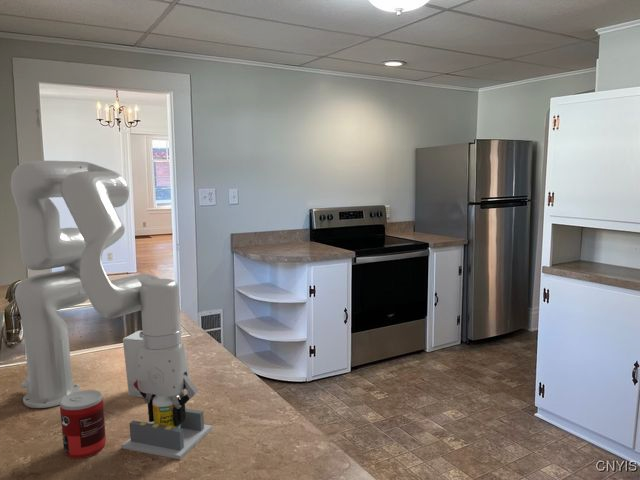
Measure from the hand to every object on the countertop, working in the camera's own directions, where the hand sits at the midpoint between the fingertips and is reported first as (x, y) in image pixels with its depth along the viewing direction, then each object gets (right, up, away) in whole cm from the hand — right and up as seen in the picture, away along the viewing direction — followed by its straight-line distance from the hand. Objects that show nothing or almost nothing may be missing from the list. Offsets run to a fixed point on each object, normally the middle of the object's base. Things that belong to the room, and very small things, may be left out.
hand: (167, 420), depth 103 cm
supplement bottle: (0, -2, 0) cm, 2 cm away
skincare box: (-12, -1, +22) cm, 25 cm away
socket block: (0, -4, +1) cm, 4 cm away
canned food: (-16, -5, -3) cm, 17 cm away
